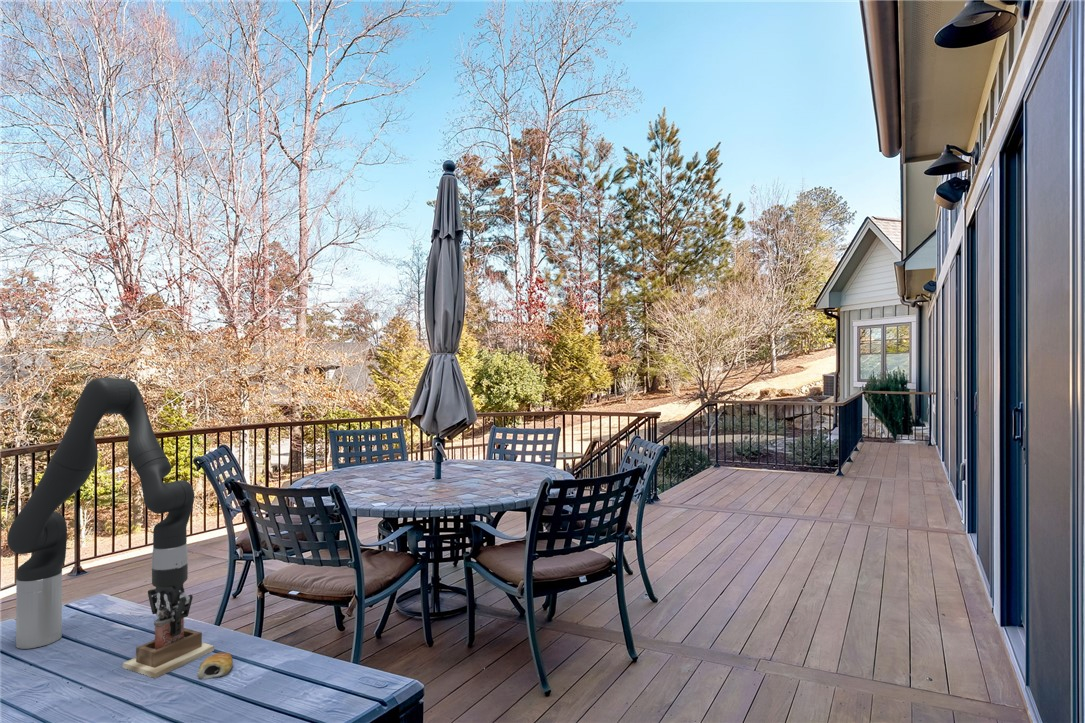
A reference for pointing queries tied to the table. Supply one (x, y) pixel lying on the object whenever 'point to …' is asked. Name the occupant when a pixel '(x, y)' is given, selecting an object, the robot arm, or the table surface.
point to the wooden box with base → (168, 655)
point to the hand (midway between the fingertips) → (169, 633)
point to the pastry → (215, 666)
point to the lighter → (166, 629)
